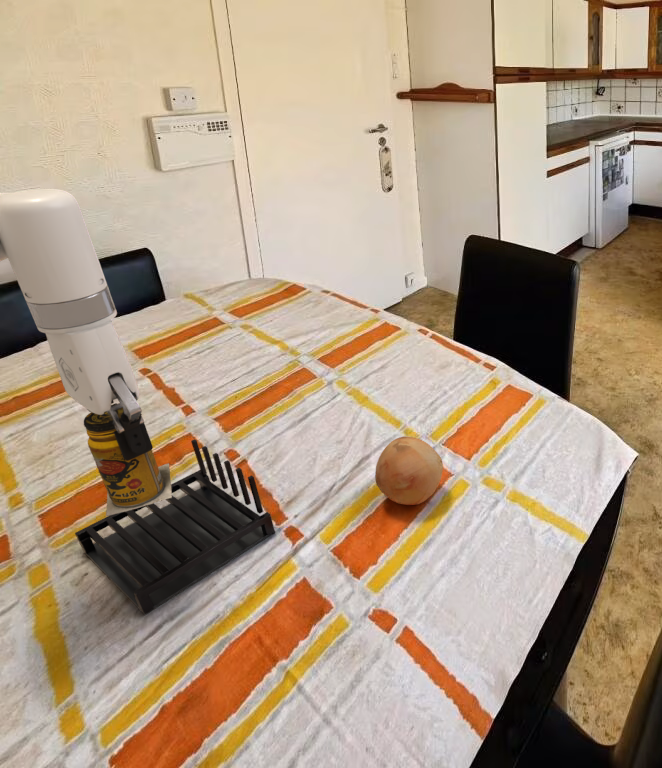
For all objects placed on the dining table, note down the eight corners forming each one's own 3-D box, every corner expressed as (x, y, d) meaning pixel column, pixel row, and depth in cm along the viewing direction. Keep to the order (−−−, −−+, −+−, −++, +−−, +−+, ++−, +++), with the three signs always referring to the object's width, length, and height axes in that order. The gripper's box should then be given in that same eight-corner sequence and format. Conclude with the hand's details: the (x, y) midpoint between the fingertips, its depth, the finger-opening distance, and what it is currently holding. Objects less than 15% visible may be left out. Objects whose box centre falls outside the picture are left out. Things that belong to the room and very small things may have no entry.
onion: (456, 503, 92) (451, 447, 87) (392, 527, 88) (383, 469, 83) (430, 470, 99) (425, 417, 95) (370, 490, 95) (361, 436, 90)
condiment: (106, 517, 75) (71, 434, 70) (108, 481, 82) (77, 401, 76) (172, 499, 78) (144, 417, 73) (169, 465, 85) (143, 387, 79)
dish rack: (144, 615, 75) (119, 557, 71) (83, 551, 85) (57, 497, 80) (275, 532, 87) (261, 478, 83) (208, 485, 97) (192, 435, 93)
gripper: (6, 302, 70) (64, 436, 79) (67, 338, 61) (126, 486, 69) (79, 283, 75) (126, 411, 84) (145, 314, 66) (191, 454, 74)
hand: (125, 443), depth 76 cm, fingers closed on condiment, 6 cm apart
